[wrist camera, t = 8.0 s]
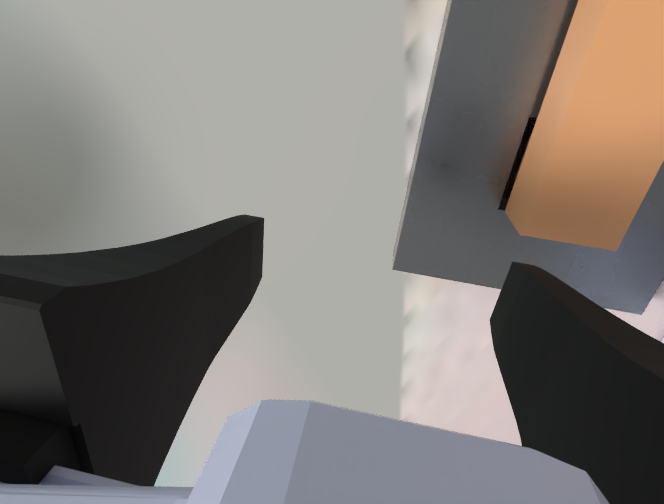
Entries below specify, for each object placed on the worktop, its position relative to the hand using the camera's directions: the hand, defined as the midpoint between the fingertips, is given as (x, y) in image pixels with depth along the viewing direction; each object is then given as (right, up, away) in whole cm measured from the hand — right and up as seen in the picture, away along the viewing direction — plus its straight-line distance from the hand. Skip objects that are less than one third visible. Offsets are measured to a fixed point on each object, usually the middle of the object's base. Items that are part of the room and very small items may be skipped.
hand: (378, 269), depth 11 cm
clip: (+9, +8, +5) cm, 13 cm away
